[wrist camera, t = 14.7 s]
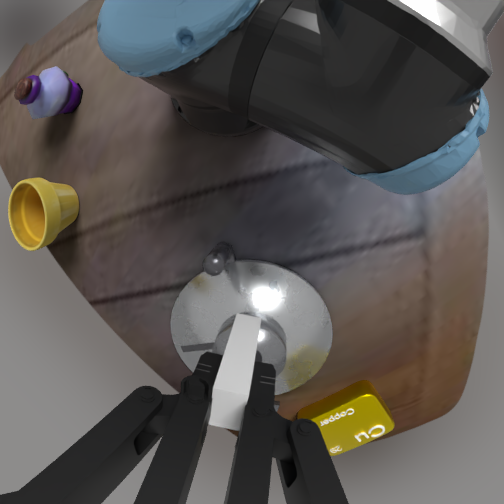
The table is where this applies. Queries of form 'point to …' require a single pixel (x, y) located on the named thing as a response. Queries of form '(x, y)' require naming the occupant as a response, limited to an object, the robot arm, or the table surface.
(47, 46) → the table surface
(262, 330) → the cover
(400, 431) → the table surface
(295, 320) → the turntable
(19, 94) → the potion bottle
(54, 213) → the plant pot
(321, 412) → the element tile
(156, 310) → the table surface
